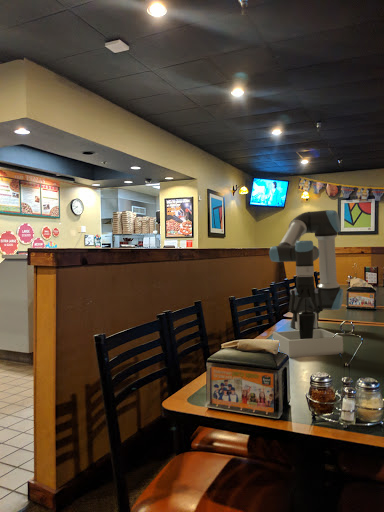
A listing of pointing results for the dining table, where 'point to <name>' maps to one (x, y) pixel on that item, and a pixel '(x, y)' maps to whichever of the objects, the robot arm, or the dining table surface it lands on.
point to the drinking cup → (306, 323)
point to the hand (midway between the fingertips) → (306, 328)
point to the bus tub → (309, 343)
